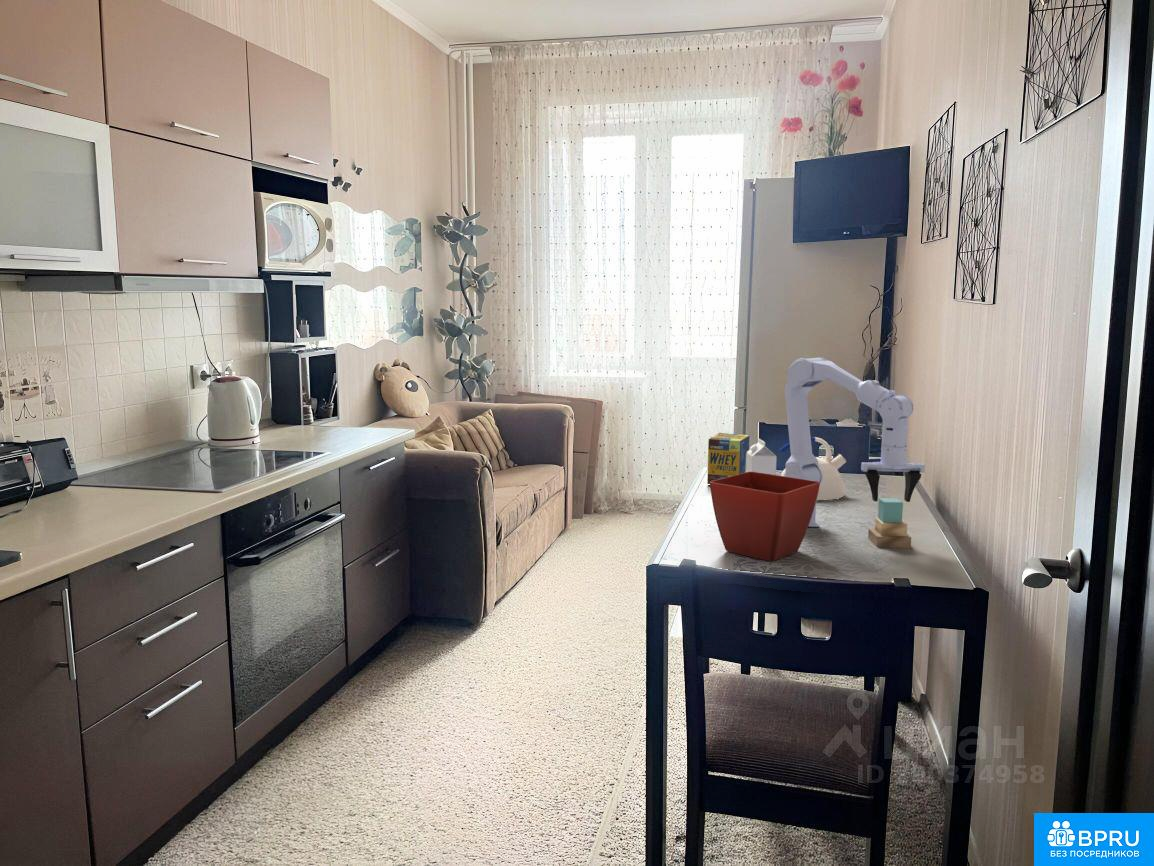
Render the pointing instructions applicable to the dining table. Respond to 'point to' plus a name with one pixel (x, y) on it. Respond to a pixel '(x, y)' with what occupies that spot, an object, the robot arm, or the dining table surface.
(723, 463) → the protein box
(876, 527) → the oak slab
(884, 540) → the brown square slab
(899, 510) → the teal block
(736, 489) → the plant pot
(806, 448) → the robot arm
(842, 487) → the kettle
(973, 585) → the dining table surface
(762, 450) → the milk carton
